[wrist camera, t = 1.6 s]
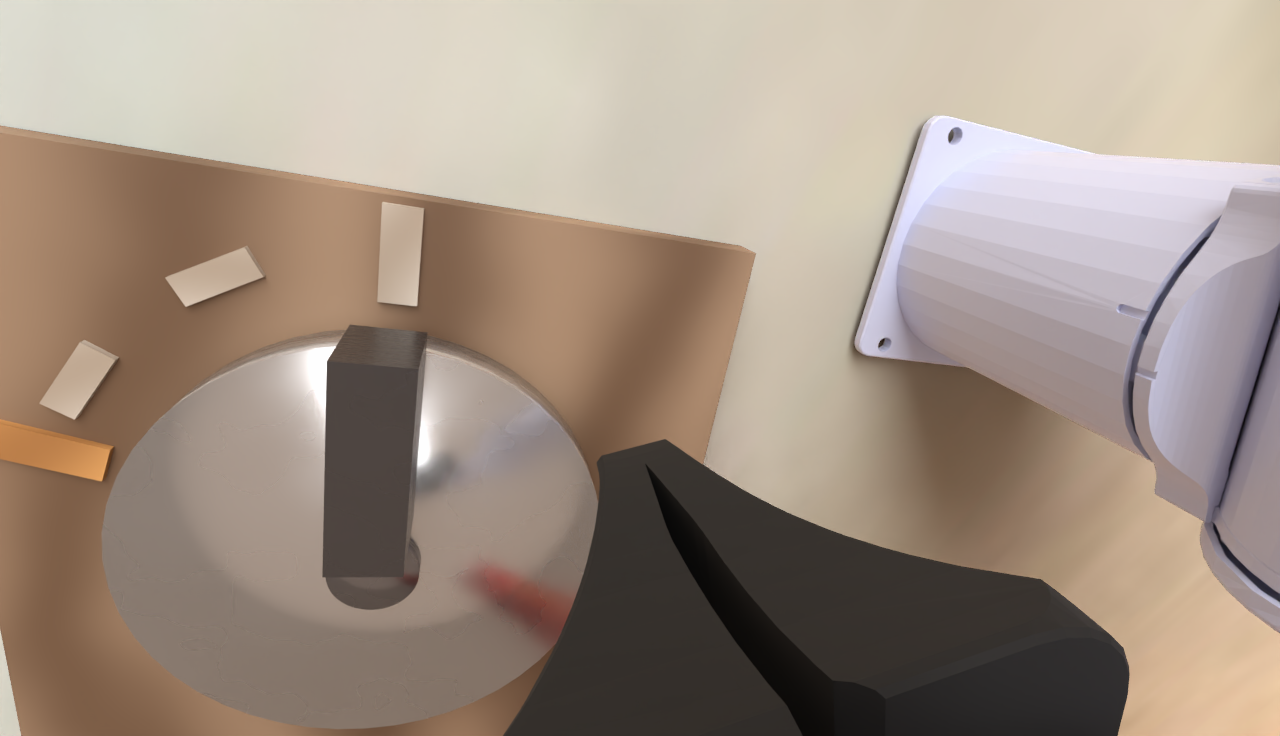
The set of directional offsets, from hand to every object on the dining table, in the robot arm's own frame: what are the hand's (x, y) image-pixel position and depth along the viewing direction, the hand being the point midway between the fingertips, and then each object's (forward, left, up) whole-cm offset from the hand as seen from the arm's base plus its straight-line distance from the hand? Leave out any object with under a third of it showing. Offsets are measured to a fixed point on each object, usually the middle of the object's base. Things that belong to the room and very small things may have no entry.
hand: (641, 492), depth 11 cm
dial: (+5, +6, -7) cm, 11 cm away
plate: (+5, +6, -9) cm, 12 cm away
